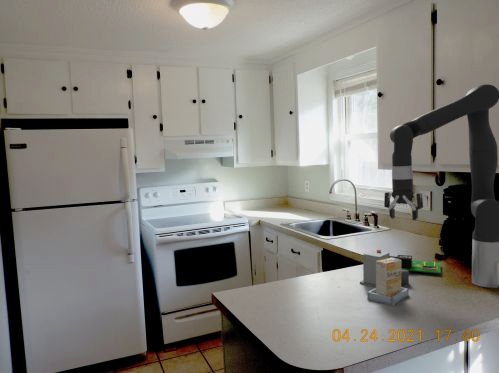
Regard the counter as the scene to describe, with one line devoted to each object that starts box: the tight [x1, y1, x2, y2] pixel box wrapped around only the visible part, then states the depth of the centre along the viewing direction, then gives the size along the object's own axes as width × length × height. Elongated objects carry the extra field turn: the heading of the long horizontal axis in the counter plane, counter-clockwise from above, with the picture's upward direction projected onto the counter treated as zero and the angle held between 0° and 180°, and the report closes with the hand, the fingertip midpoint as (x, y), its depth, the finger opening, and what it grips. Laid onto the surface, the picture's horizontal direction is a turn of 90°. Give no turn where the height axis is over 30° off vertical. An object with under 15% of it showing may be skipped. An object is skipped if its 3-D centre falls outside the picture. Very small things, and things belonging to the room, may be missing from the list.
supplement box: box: [375, 258, 402, 297], centre depth 143 cm, size 8×5×13 cm, turn 120°
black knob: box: [401, 269, 410, 286], centre depth 157 cm, size 4×4×5 cm
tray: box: [366, 286, 409, 306], centre depth 143 cm, size 9×12×2 cm
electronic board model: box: [390, 254, 442, 274], centre depth 177 cm, size 30×7×15 cm
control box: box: [359, 249, 391, 288], centre depth 158 cm, size 9×10×13 cm
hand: (403, 219), depth 156 cm, fingers open, 8 cm apart
